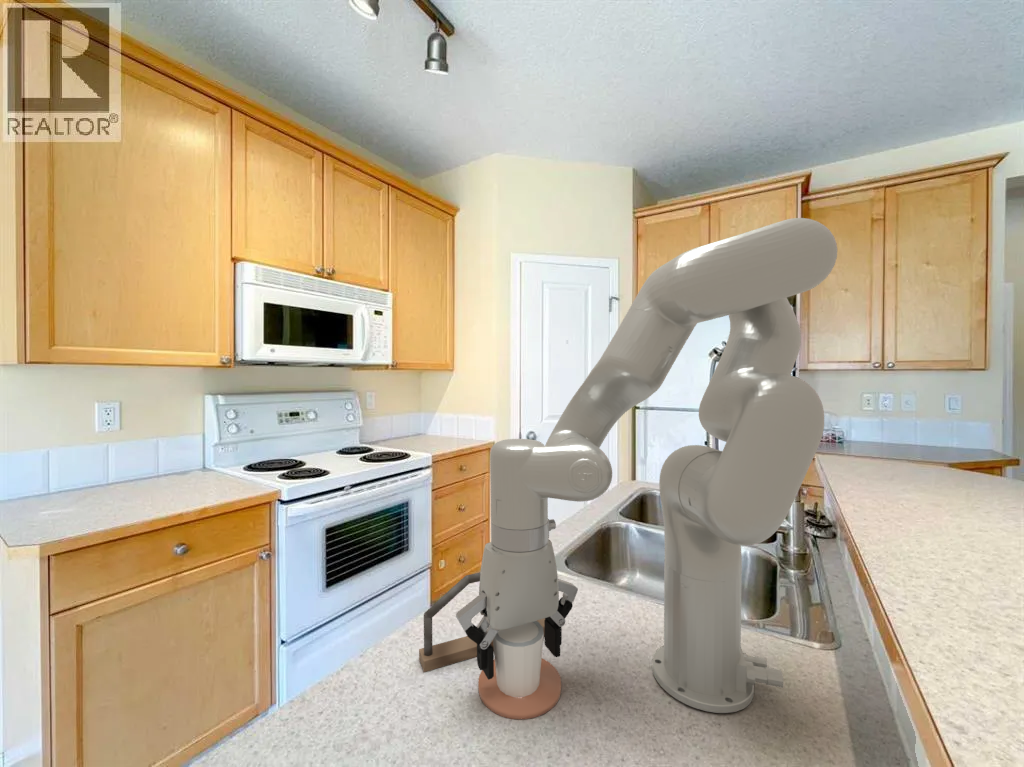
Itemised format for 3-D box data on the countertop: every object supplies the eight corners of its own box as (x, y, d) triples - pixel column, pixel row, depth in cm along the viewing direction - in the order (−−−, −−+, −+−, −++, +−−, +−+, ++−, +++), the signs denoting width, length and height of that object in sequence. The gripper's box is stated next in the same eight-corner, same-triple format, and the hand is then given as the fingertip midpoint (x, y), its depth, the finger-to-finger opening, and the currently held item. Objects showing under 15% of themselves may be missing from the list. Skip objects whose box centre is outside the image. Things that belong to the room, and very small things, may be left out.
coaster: (568, 668, 61) (568, 662, 61) (550, 729, 51) (550, 722, 51) (495, 652, 64) (495, 647, 64) (464, 706, 54) (464, 700, 54)
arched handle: (550, 622, 72) (550, 553, 72) (559, 632, 69) (559, 560, 69) (419, 659, 63) (418, 580, 63) (423, 672, 60) (423, 590, 60)
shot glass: (540, 704, 53) (540, 648, 53) (486, 697, 55) (486, 642, 54) (546, 667, 60) (546, 617, 60) (498, 661, 61) (498, 612, 61)
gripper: (561, 515, 64) (561, 629, 64) (447, 535, 57) (449, 662, 57) (590, 532, 57) (591, 659, 58) (466, 557, 50) (467, 702, 50)
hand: (520, 661), depth 57 cm, fingers open, 9 cm apart
